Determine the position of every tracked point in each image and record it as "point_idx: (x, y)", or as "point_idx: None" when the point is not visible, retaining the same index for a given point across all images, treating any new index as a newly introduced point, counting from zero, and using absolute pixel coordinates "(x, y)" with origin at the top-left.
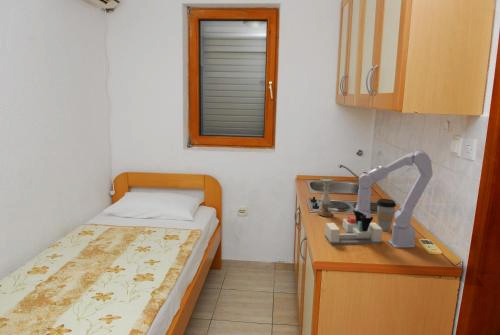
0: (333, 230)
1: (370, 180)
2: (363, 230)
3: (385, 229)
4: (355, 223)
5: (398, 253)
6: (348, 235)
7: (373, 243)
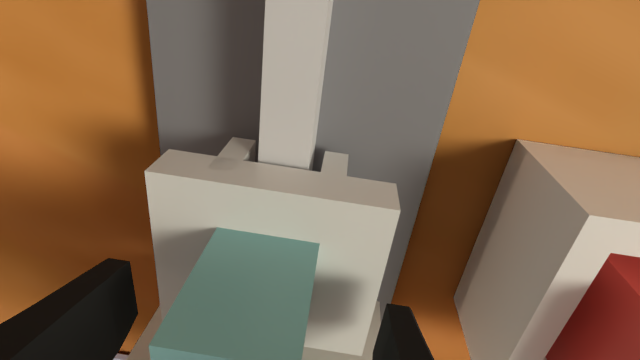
0: None
1: None
2: (100, 271)
3: None
4: (578, 336)
5: (3, 318)
6: (266, 46)
7: None
